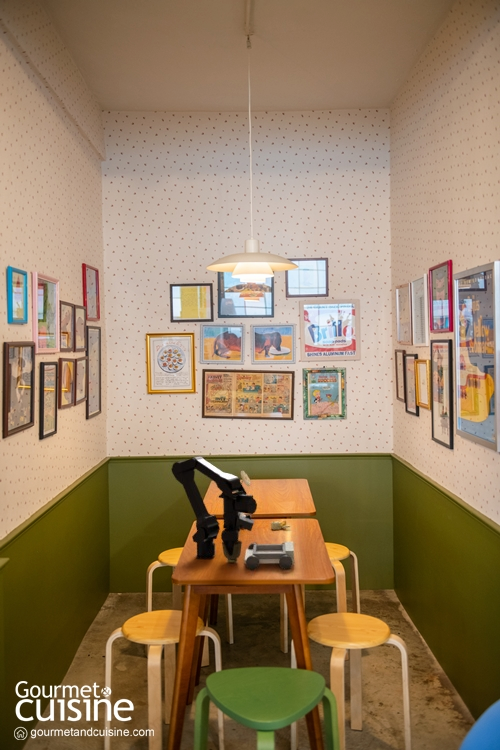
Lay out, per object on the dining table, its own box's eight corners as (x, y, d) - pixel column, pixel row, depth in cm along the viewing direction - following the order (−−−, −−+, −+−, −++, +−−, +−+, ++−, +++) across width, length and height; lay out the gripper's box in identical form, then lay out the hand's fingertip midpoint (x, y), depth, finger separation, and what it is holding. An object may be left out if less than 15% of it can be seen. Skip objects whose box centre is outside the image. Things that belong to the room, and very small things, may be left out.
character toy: (291, 522, 293) (274, 524, 291) (291, 529, 294) (274, 531, 291) (285, 518, 301) (269, 519, 299) (285, 525, 301) (269, 526, 299)
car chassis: (244, 570, 239) (244, 553, 239) (246, 555, 257) (246, 539, 257) (294, 569, 239) (294, 553, 238) (293, 554, 257) (292, 539, 256)
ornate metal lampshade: (242, 559, 252) (241, 538, 252) (242, 565, 245) (242, 543, 245) (222, 559, 252) (222, 539, 252) (222, 565, 245) (221, 544, 245)
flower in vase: (241, 530, 294) (240, 474, 293) (221, 527, 301) (220, 472, 300) (258, 524, 304) (257, 470, 304) (239, 521, 311) (238, 468, 310)
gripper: (251, 516, 238) (252, 559, 239) (253, 504, 257) (254, 544, 258) (220, 516, 239) (221, 559, 239) (224, 505, 258) (225, 544, 258)
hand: (231, 551), depth 249 cm, fingers open, 9 cm apart
